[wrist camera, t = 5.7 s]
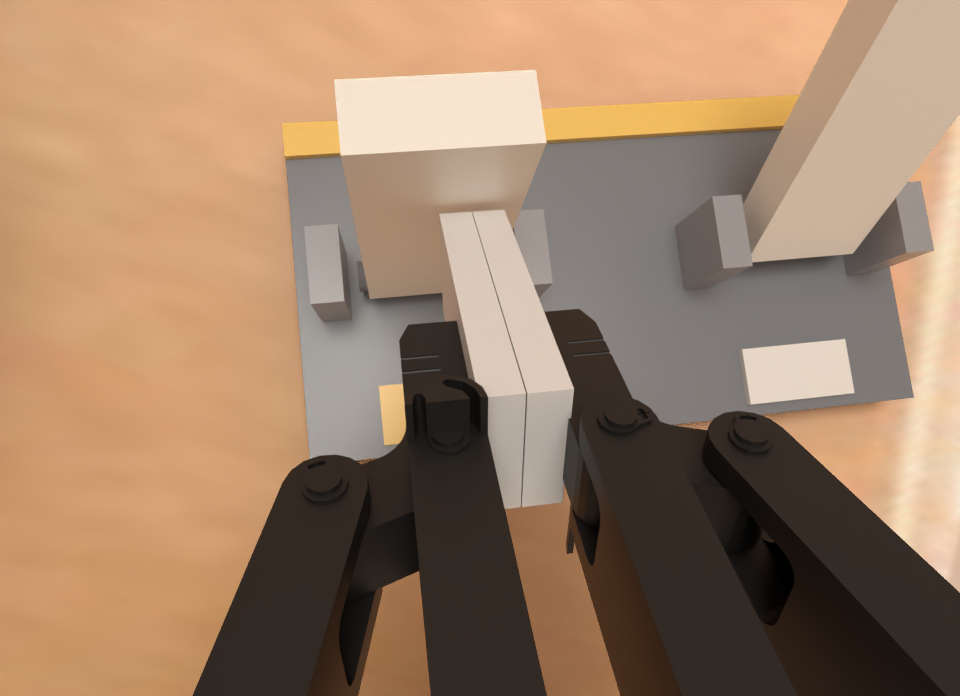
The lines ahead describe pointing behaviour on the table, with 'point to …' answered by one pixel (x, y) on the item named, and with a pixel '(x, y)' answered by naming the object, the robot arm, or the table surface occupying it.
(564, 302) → the switch unit
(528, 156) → the paddle
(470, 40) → the table surface
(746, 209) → the paddle
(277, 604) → the robot arm
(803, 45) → the table surface
